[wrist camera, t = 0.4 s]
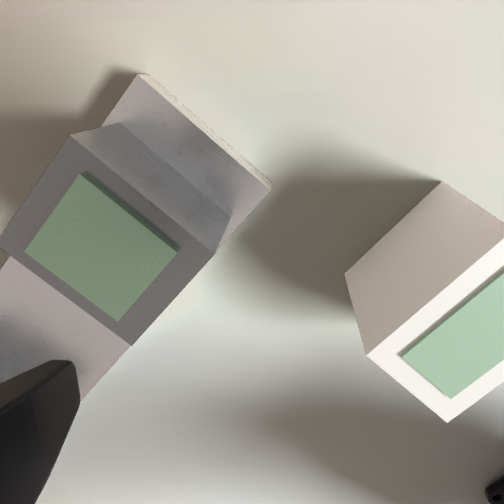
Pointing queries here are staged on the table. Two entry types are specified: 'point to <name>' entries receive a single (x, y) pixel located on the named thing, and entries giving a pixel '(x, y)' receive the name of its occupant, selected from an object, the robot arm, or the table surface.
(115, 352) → the rail
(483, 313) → the block
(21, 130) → the table surface
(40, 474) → the robot arm
